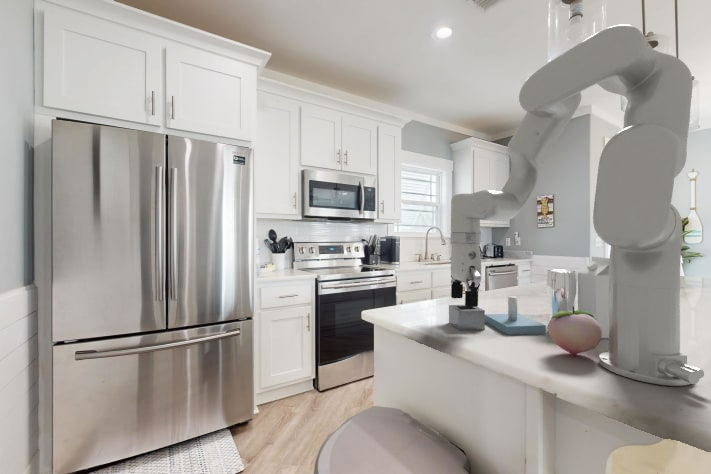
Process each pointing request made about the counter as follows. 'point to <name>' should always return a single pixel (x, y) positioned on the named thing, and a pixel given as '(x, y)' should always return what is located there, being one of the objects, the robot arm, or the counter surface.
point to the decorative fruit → (575, 331)
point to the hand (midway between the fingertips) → (463, 301)
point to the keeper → (514, 321)
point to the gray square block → (466, 317)
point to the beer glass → (561, 290)
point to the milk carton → (595, 291)
